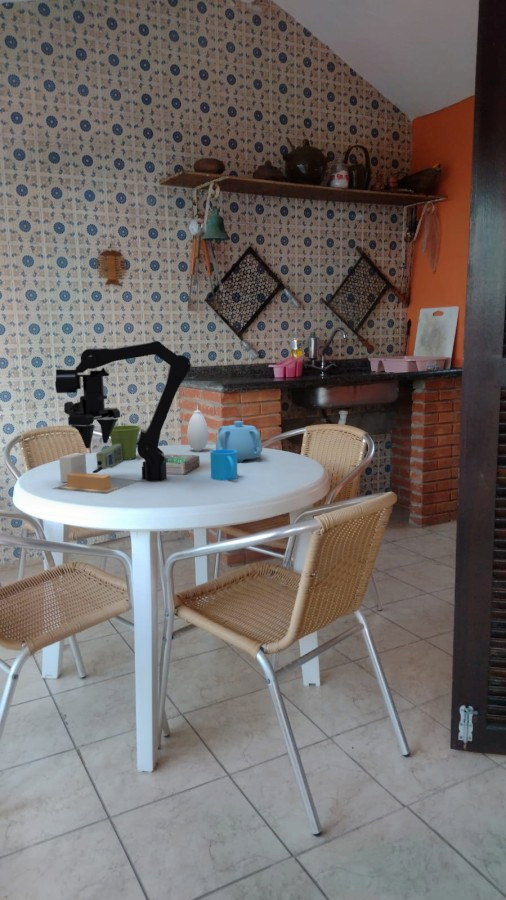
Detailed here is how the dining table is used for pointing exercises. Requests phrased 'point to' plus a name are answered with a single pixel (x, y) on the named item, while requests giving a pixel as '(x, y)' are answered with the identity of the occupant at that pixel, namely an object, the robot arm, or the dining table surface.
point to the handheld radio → (109, 457)
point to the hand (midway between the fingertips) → (96, 445)
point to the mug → (223, 464)
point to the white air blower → (197, 431)
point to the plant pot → (126, 439)
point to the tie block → (72, 465)
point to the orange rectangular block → (88, 481)
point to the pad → (90, 489)
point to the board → (114, 483)
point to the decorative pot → (240, 440)
